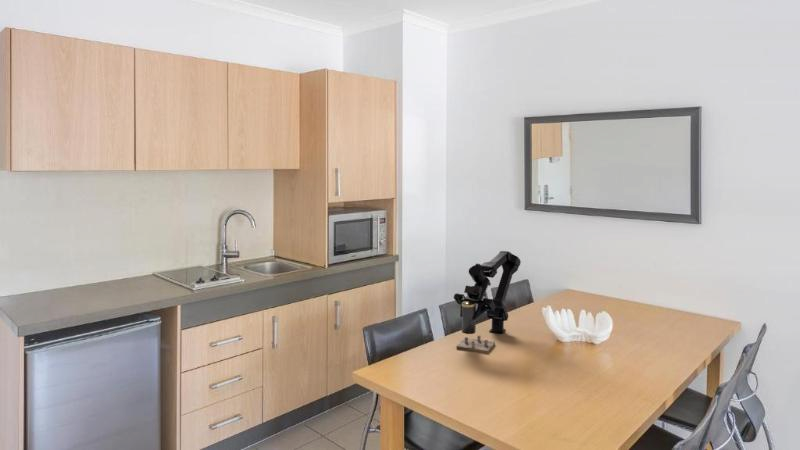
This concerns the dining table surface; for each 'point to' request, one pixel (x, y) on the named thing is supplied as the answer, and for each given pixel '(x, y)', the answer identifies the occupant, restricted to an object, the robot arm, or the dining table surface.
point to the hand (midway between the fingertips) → (467, 318)
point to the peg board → (476, 345)
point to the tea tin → (468, 317)
